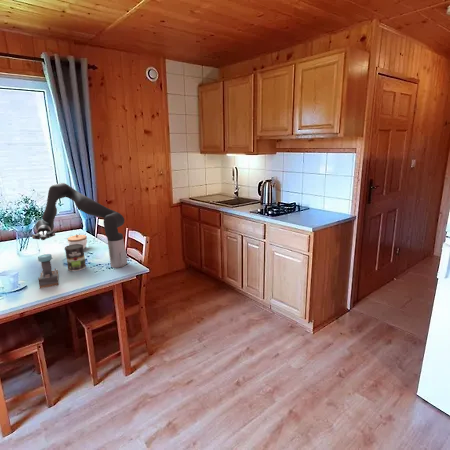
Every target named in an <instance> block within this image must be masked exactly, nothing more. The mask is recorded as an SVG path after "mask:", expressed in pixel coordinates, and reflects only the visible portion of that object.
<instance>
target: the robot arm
mask: <svg viewBox="0 0 450 450" xmlns="http://www.w3.org/2000/svg"><path fill="white" fill-rule="evenodd" d="M63 198H67V199H69V200H71V201H73V202H74V204H75V206H76V208H77V209H78V210H80V211H81V212H83V213H84V214H86V215H89V216H94V217H98V218H102V219H103V227H104V228H103V229H104V233H105V237H106V239H107V244H108V245H107V246H108V247H107V248H108V254H109V263H110V267H112V268H116V269H117V268H124V266H126V265H127V264H128V256H127V250H126V249H125V243H124V240H125V239H124V234H123V233H122V232H119V229H118V228H120V227H122V226H123V225H124V224H125V216H123V215H122V214H121V213H120V212H118V211H115V210H113V209H111V208H108V207H106V206H105V205H103V204H101V203H99V202H97V201H95V200H94V199H92V198H90V197H88V196H86V195H84V194H83V193H82V192H79V191H78V190H76V189H74V188H73V187H71V186H70V185H69V184H67V183H65V182H59V183H55V184H51V186H50V187H49V190H48V194H47V200H46V205H45V209H44V212H43V214H42V219H39V220H37V222H36V224H35V228H36V233H35V234H34V233H33V234H31V239H34V240H41V241H45V240H46V239H50V238H52V237H55V236H56V231H55V230H54V228H55V227H54V226H55V224H54V222H55V218H56V216H57V213H58V209H57V206H56V204H57V202H58V200H60V199H63Z"/></svg>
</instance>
